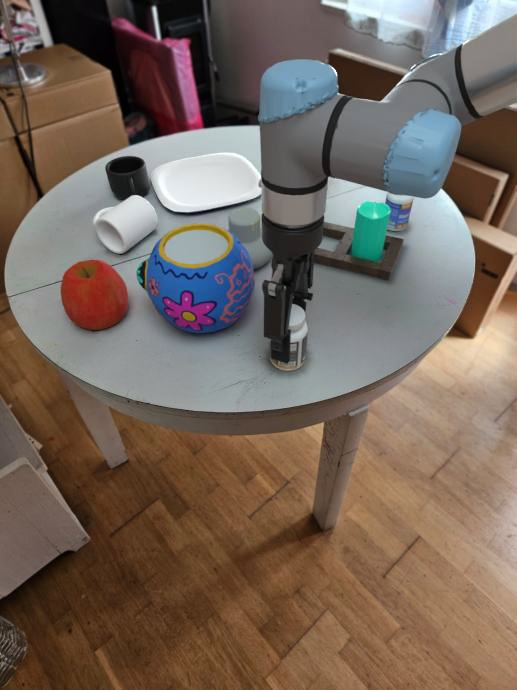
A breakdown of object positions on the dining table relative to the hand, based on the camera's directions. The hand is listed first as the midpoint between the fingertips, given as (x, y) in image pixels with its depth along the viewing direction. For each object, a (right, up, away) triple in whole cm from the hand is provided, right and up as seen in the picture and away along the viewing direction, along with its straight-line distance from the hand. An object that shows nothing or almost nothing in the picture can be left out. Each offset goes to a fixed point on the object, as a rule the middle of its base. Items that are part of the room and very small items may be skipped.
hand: (288, 344), depth 73 cm
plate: (-17, +38, +41) cm, 58 cm away
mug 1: (-34, +35, +38) cm, 62 cm away
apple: (-32, +5, +11) cm, 34 cm away
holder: (+13, +19, +22) cm, 31 cm away
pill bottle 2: (+24, +25, +28) cm, 45 cm away
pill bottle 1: (0, -2, +3) cm, 4 cm away
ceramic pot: (-14, +5, +10) cm, 18 cm away
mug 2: (-33, +22, +26) cm, 48 cm away
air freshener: (-7, +17, +20) cm, 27 cm away
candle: (+17, +17, +20) cm, 31 cm away
